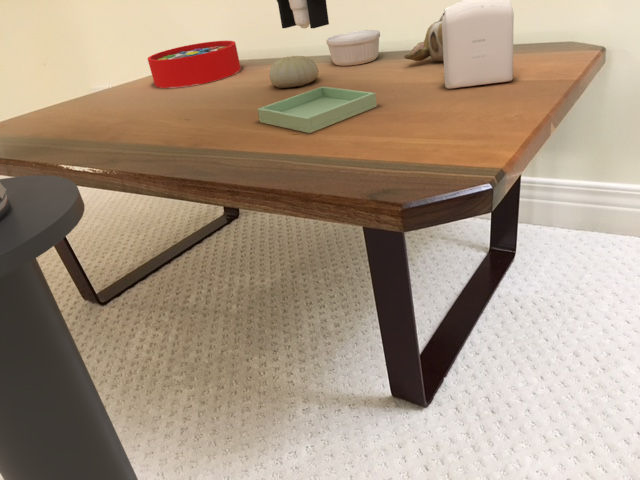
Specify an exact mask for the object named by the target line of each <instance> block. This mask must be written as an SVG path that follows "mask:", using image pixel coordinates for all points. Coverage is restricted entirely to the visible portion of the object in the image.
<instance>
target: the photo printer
mask: <svg viewBox="0 0 640 480" xmlns="http://www.w3.org/2000/svg"><path fill="white" fill-rule="evenodd" d="M443 13H444V16H443V21H442V38H443V60H444V61H443V77H444V78H443V79H444V87H445V88H446V89H449V90H452V89H458V88H466V87H475V86H481V85H489V84H490V85H491V84H499V83H508V82H511V81H512V80H513V79H514V18H515V17H514V10H513V7H512V0H461V1H458V2H455V3H454V4H451V5H450V6H448V7H446V8H444V9H443Z"/></svg>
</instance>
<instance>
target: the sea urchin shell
mask: <svg viewBox="0 0 640 480" xmlns="http://www.w3.org/2000/svg"><path fill="white" fill-rule="evenodd" d="M319 72H320V71H319V67H318V65H317V64H316V62H315V60H313V59H311V58H309V57H306V56H304V55H289V56H284V57H282V58H279V59H278V60H276V61H275V62H274V63H272V66H271V67H270V69H269V80H270V83H271V84H272V85H273V86H275V87H276V88H280V89H284V88H287V89H288V88H295V87H303V86H305V85H308V84H310V83H312V82H314V81H315V80H316V79H317V78H318V75H319Z"/></svg>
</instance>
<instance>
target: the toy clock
mask: <svg viewBox="0 0 640 480" xmlns="http://www.w3.org/2000/svg"><path fill="white" fill-rule="evenodd" d="M147 63H148V65H149V69H150V73H151V76H152V79H153V83H154V87H156V88H161V89H178V88H187V87H192V86H198V85H203V84H207V83H212V82H215V81H220V80H222V79H226V78H229V77H231V76H234V75H236V74H237V73H239V72H241V70H242V67H241V62H240V58H239V52H238V49H237V44H236V42H235V41H234V40H214V41H206V42H199V43H193V44H188V45H184V46H178V47H173V48H170V49H165V50H163V51H160V52H156V53H153V54H151V55H150V56H148V57H147Z"/></svg>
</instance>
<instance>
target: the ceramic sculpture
mask: <svg viewBox="0 0 640 480" xmlns="http://www.w3.org/2000/svg"><path fill="white" fill-rule="evenodd" d="M443 16H444V12H443V13H442V15H441V16H440V18H439V20H438V21H435V22H433V23H432V24H430V25H429V27H428V28H427V30H426V33H425V37H424V40H423V41H421V42H418V43H417V44H416V45H415V46H414V47H413V48H412V49H411V51H410V52H409V54H406V55H404V56H403V57H404V59H406V60H411V61H414V62H415V61H416V62H420V61H421V62H422V61H425V60H426V59H428V58H429V57H430V58H431V59H433V60H435V61H437V62H444V60H443V38H442V21H443Z"/></svg>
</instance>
